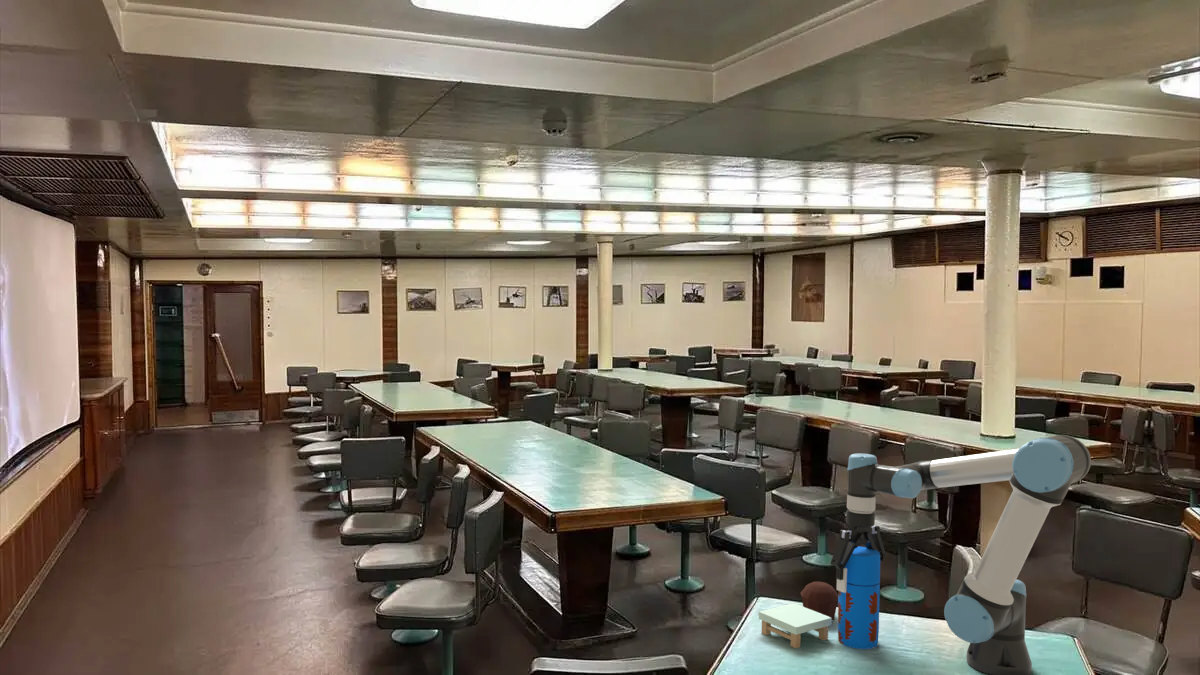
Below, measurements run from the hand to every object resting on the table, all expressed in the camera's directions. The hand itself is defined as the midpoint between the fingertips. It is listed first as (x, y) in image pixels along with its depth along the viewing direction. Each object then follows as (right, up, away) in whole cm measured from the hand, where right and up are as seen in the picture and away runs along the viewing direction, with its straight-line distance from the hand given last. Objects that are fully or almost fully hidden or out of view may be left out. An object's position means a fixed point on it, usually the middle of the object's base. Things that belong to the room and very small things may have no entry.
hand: (858, 587), depth 229 cm
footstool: (-17, -15, +3) cm, 22 cm away
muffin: (-6, -15, +19) cm, 25 cm away
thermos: (0, -15, 0) cm, 15 cm away
